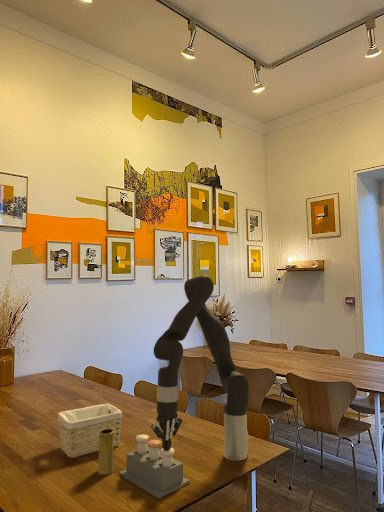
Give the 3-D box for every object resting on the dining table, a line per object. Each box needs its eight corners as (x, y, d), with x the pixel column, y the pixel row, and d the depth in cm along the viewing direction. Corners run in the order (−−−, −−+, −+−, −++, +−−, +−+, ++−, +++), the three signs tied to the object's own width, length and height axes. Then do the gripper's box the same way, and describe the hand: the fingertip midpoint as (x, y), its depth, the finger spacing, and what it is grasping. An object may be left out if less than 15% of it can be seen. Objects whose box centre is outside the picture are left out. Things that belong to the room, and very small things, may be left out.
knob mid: (155, 461, 138) (155, 438, 138) (163, 465, 134) (163, 442, 135) (144, 465, 134) (144, 442, 135) (153, 470, 131) (153, 446, 132)
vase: (115, 467, 143) (116, 428, 144) (112, 475, 137) (113, 434, 138) (99, 467, 142) (100, 428, 144) (95, 475, 136) (96, 434, 138)
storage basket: (67, 461, 148) (68, 422, 149) (55, 447, 161) (56, 411, 162) (123, 446, 162) (124, 411, 163) (108, 435, 175) (108, 402, 176)
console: (149, 462, 147) (150, 443, 147) (189, 483, 131) (189, 462, 132) (119, 474, 137) (120, 454, 137) (158, 498, 121) (159, 475, 122)
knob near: (167, 469, 133) (167, 446, 133) (177, 474, 129) (177, 450, 130) (157, 474, 129) (157, 450, 130) (166, 479, 126) (166, 454, 127)
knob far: (143, 455, 143) (143, 433, 143) (151, 459, 139) (151, 436, 140) (132, 459, 139) (133, 436, 140) (140, 463, 136) (141, 440, 137)
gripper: (174, 392, 139) (173, 441, 138) (145, 399, 130) (144, 452, 128) (188, 396, 134) (188, 447, 132) (159, 404, 125) (158, 459, 123)
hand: (166, 449), depth 130 cm, fingers closed
